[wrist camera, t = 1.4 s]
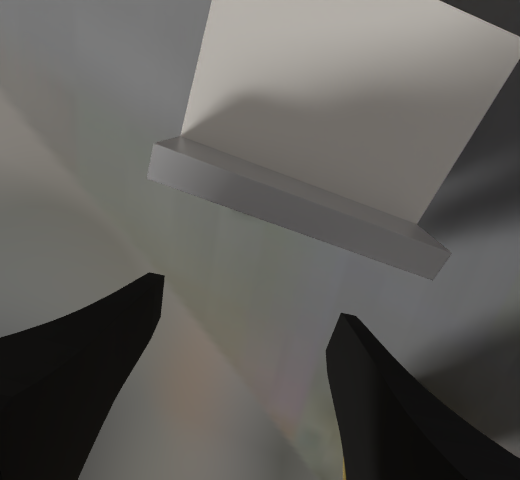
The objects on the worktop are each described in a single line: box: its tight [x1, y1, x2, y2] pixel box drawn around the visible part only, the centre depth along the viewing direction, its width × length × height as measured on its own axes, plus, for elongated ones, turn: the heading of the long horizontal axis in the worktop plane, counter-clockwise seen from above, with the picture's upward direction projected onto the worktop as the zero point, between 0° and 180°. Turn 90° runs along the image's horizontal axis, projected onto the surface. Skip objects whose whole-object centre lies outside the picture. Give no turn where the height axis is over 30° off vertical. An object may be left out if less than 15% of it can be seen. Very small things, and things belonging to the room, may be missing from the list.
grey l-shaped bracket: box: [147, 0, 520, 280], centre depth 10 cm, size 9×7×6 cm
